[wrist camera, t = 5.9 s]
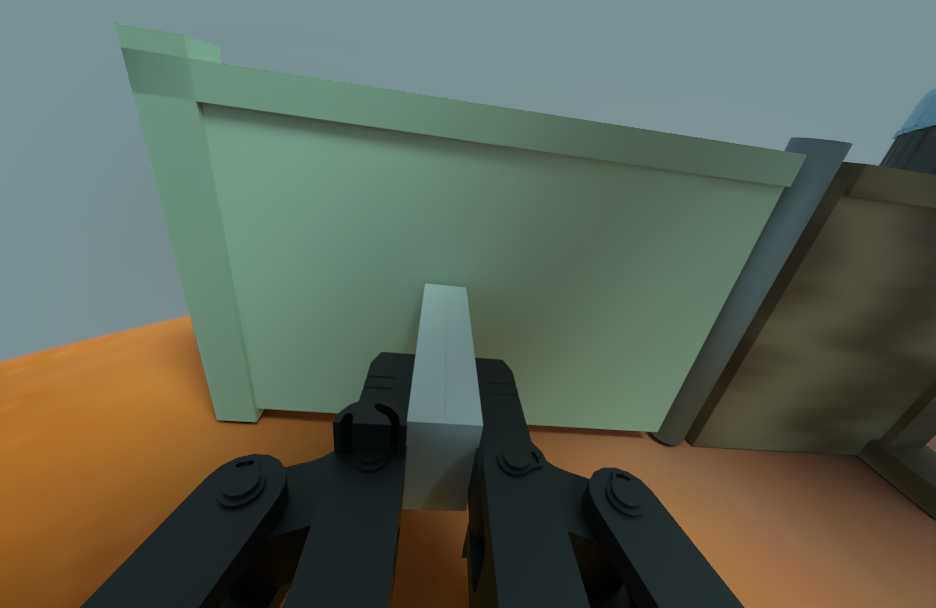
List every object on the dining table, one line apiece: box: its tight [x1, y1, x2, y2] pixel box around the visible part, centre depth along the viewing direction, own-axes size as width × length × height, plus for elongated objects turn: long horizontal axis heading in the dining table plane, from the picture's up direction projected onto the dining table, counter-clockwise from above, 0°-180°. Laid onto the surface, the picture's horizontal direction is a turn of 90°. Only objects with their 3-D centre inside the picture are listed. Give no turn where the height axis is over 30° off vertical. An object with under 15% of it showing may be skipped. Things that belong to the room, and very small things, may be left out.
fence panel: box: [115, 23, 852, 445], centre depth 14 cm, size 22×2×14 cm, turn 94°
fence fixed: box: [685, 162, 936, 520], centre depth 15 cm, size 12×8×15 cm, turn 94°
